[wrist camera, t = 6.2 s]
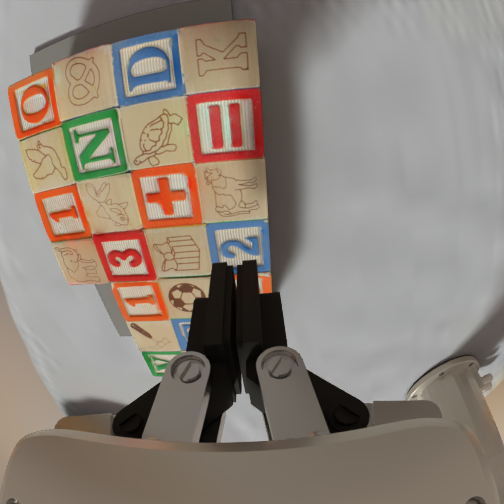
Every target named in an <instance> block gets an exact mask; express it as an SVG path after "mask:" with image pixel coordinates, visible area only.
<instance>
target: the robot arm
mask: <svg viewBox="0 0 504 504" xmlns="http://www.w3.org/2000/svg"><path fill="white" fill-rule="evenodd" d="M478 370H479V363H478V361H477V359H476V358H475V357H473V356H463V357H459V358H456V359H453V360H451V361H448V362H446V363H444V364H442V365H440V366H439V367H437V368H435V369H433V370H432V371H431V372H429V373H428V374H426V375H425V376H424V377H422V378H421V379H420V380H419V381H418V382H417V383H415V384H414V386H413V387H412V388H411V389H410V391H409V392H408V394H407V396H406V401H373V403H363V402H362V401H360V400H359V399H357V398H355V397H354V396H352V395H350V394H348V393H346V392H345V391H343V390H341V389H339V388H338V387H336V386H334V385H332V384H331V383H329V382H327V381H325V380H324V379H322V378H320V377H319V376H317V375H315V374H314V373H312V372H310V371H309V370H307V369H306V367H305V364H304V361H303V359H302V357H301V355H300V354H299V353H298V352H297V351H296V350H294V349H292V348H289V347H287V339H286V332H285V325H284V318H283V311H282V304H281V297H280V292H273V293H261V294H260V291H259V280H258V269H257V259H256V260H244V261H242V265H237V289H236V282H235V275H234V269H233V265H229V266H228V264H227V262H219V263H212V270H211V278H210V286H209V294H208V297H206V298H195V300H194V304H193V310H192V316H191V322H190V328H189V335H188V341H187V348H186V352H183V353H180V354H178V355H176V356H174V357H173V358H172V359H171V360H170V361H169V363H168V365H167V367H166V369H165V372H164V375H163V378H162V381H161V382H160V383H158V384H157V385H156V386H154V387H153V388H151V389H150V390H149V391H147V392H146V393H144V394H143V395H142V396H140V397H139V398H137V399H136V400H135V401H133V402H132V403H130V404H129V405H127V406H126V407H125V408H123V409H122V410H120V411H119V412H118V413H117V414H115V415H112V414H111V413H102V414H92V415H80V416H67V417H64V418H62V419H60V420H59V421H58V422H57V424H56V425H55V429H49V430H41V431H37V432H34V433H31V434H28V435H26V436H24V437H23V438H22V439H21V440H20V441H19V442H18V443H17V444H16V446H15V448H14V450H13V452H12V454H11V457H10V459H9V462H8V465H7V468H6V471H5V475H4V479H3V483H2V487H1V491H0V504H504V444H503V441H502V439H501V436H500V434H499V431H498V429H497V426H496V424H495V421H494V419H493V416H492V414H491V412H490V409H489V407H488V405H487V403H486V400H485V398H484V396H483V394H482V393H483V392H486V391H488V390H490V389H491V387H492V383H491V381H492V379H493V376H492V374H487V375H485V376H483V377H480V375H479V373H478ZM241 372H242V377H243V382H244V387H245V392H246V394H247V393H249V395H250V400H251V404H252V405H253V406H255V407H256V408H257V409H259V410H260V411H261V412H262V415H263V419H264V424H265V428H266V432H267V436H268V440H269V441H258V442H235V443H220V442H221V437H222V432H223V427H224V422H225V417H226V410H228V409H229V408H230V407H231V406H232V405H233V402H236V394H241Z"/></svg>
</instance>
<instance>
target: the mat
mask: <svg viewBox="0 0 504 504" xmlns="http://www.w3.org/2000/svg"><path fill="white" fill-rule="evenodd" d="M224 21H233V16H232V6H231V0H197V1H191V2H185V3H180V4H175V5H170V6H166V7H161V8H157V9H153V10H149V11H145V12H141V13H137V14H134V15H130V16H127V17H124V18H120V19H117V20H114V21H111V22H108V23H105V24H102V25H99V26H96V27H94V28H91V29H88V30H86V31H83V32H81V33H78V34H76V35H73V36H71V37H68V38H66V39H64V40H61V41H59V42H57V43H55V44H53V45H50V46H48V47H46V48H44V49H42V50H40V51H38V52H36V53H34V54H32V55H30V64H31V72H32V75H34V74H36V73H38V72H40V71H43V70H45V69H48V68H50V67H52V64H53V63H55V62H57V61H59V60H62V59H64V58H66V57H69V56H72V55H74V54H77V53H80V52H83V51H86V50H88V49H91V48H95V47H98V46H101V45H105V44H112V43H114V42H118V41H122V40H126V39H130V38H134V37H138V36H142V35H146V34H151V33H156V32H161V31H167V30H174V29H178V28H182V27H186V26H193V25H200V24H205V23H215V22H224ZM111 283H112V282H109V283H106V284H95V286H96V289H97V291H98V293H99V295H100V297H101V299H102V301H103V303H104V306H105V308H106V310H107V312H108V314H109V316H110V318H111V320H112V322H113V324H114V325H115V327H116V329H117V331H118V333H119V335H120V336H132V334H131V332H130V330H129V328H128V326H127V323H126V320H125V319H124V317H123V315H122V313H121V311H120V308H119V306H118V304H117V301H116V299H115V296H114V294H113V292H112V286H111Z"/></svg>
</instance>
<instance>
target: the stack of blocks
mask: <svg viewBox="0 0 504 504" xmlns="http://www.w3.org/2000/svg"><path fill="white" fill-rule="evenodd" d="M259 87H260V75H259V62H258V48H257V36H256V25H255V20H251V19H245V20H233V21H224V22H215V23H205V24H200V25H193V26H186V27H182V28H178V29H174V30H167V31H161V32H156V33H151V34H146V35H142V36H138V37H134V38H130V39H126V40H122V41H118V42H114V43H112V44H105V45H101V46H98V47H95V48H91V49H88V50H86V51H83V52H80V53H77V54H74V55H72V56H69V57H66V58H64V59H62V60H59V61H57V62H55V63H53V64H52V67H50V68H48V69H45V70H43V71H40V72H38V73H36V74H34V75H31V76H29V77H27V78H25V79H23V80H21V81H19V82H17V83H15V84H13V85H11V86H9V87H8V96H9V101H10V107H11V112H12V117H13V122H14V127H15V132H16V136H17V138H18V140H20V143H19V144H20V149H21V153H22V157H23V161H24V165H25V169H26V172H27V175H28V179H29V182H30V186H31V189H32V192H33V193H34V194H35V200H36V204H37V207H38V210H39V212H40V215H41V218H42V221H43V224H44V227H45V230H46V232H47V234H48V237H49V239H50V241H51V245H52V248H53V251H54V253H55V256H56V258H57V260H58V263H59V265H60V267H61V270H62V272H63V274H64V276H65V278H66V280H67V282H68V284H69V285H83V284H106V283H109V282H112V283H111V286H112V292H113V294H114V296H115V299H116V301H117V304H118V306H119V308H120V311H121V313H122V315H123V317H124V319H125V320H126V323H127V326H128V328H129V330H130V332H131V334H132V336H133V338H134V340H135V342H136V344H137V346H138V348H139V350H140V351H142V355H143V357H144V359H145V361H146V363H147V365H148V367H149V368H150V370H151V372H152V374H153V376H163V375H164V372H165V369H166V367H167V365H168V363H169V361H170V360H171V359H172V358H173V357H174V356H176V355H178V354H180V353H183V352H186V348H187V341H188V335H189V328H190V322H191V316H192V310H193V304H194V300H195V298H206V297H208V294H209V286H210V278H211V270H212V263H219V262H227V264H228V266H229V265H233V269H234V275H235V282H236V289H237V265H242V261H244V260H256V259H257V269H258V280H259V291H260V294H261V293H272V282H271V259H270V239H269V223H268V204H267V186H266V169H265V158H264V137H263V119H262V105H261V92H260V89H259ZM241 373H242V372H241Z"/></svg>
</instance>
